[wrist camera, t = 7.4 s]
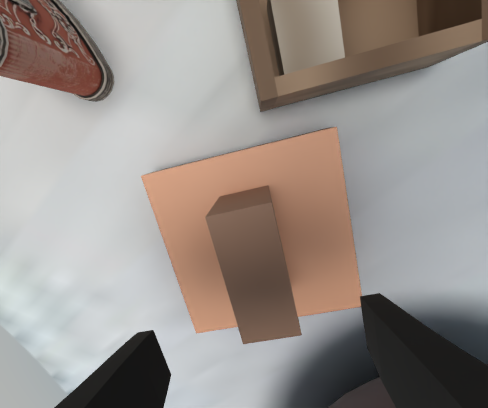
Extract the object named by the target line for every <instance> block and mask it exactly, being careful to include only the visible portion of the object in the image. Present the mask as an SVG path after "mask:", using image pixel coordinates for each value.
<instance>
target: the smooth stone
mask: <svg viewBox="0 0 488 408" xmlns="http://www.w3.org/2000/svg"><path fill="white" fill-rule="evenodd" d="M486 365H488V364H486ZM328 408H396V407H395V405H394V403H393V401H392V399H391V398H390V396H389V394H388V392H387V390H386V388H385V387H384V385H383V383H382V380H381V378H380V377H379V378H376V379H373V380H371V381H369V382H367V383H365V384H363V385H361V386H359V387H357V388H355V389H353V390H352V391H350V392H348V393H346V394H345V395H343V396H342V397H341V398H339V399H338V400H337V401H335V402H334V403H333V404H332V405H330V406H329V407H328Z"/></svg>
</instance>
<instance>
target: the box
mask: <svg viewBox="0 0 488 408" xmlns="http://www.w3.org/2000/svg"><path fill="white" fill-rule="evenodd" d="M236 1H237V6H238V11H239V15H240V20H241V24H242V29H243V34H244V38H245V43H246V47H247V52H248V57H249V61H250V66H251V71H252V75H253V80H254V84H255V89H256V94H257V98H258V103H259V108H260V112H262V111H265V110H269V109H273V108H276V107H280V106H284V105H288V104H291V103H295V102H299V101H303V100H306V99H310V98H314V97H318V96H321V95H325V94H329V93H333V92H336V91H340V90H344V89H347V88H351V87H355V86H359V85H362V84H366V83H370V82H374V81H377V80H381V79H385V78H389V77H392V76H396V75H400V74H404V73H407V72H411V71H415V70H418V69H422V68H426V67H429V66H432V65H434V64H436V63H439V62H441V61H443V60H446V59H448V58H451V57H453V56H455V55H458V54H460V53H462V52H465V51H467V50H469V49H472V48H474V47H476V46H479V45H481V44H483V43H486V42H488V0H236Z"/></svg>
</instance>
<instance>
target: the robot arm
mask: <svg viewBox="0 0 488 408" xmlns="http://www.w3.org/2000/svg"><path fill="white" fill-rule="evenodd" d="M360 301H361V308H362V315H363V322H364V328H365V335H366V342H367V348H368V350H369V353H370V355H371V357H372V360H373V362H374V365H375V367H376V369H377V371H378V374H379V376H380V378H381V380H382V383H383V385H384V387H385V388H386V390H387V392H388V394H389V396H390V398H391V399H392V401H393V403H394V405H395V407H396V408H488V365H486V364H484V363H483V362H481V361H479V360H478V359H476V358H474V357H473V356H471V355H470V354H468V353H466V352H465V351H463V350H462V349H460V348H459V347H457V346H456V345H454V344H453V343H451V342H450V341H448V340H446V339H445V338H443V337H442V336H440V335H439V334H437V333H436V332H434V331H433V330H431V329H430V328H428V327H427V326H425V325H424V324H423V323H421V322H420V321H418V320H417V319H415V318H414V317H413V316H411V315H410V314H408V313H407V312H405V311H404V310H403V309H401V308H400V307H398V306H397V305H396V304H394V303H393V302H391V301H390V300H388V299H387V298H386V297H384V296H383V295H381V294H380V293H379V294H373V295H366V296H360ZM170 377H171V373H170V370H169V368H168V365H167V363H166V360H165V358H164V356H163V353H162V351H161V348H160V346H159V343H158V341H157V338H156V336H155V333H154V331H153V330H151V331H145V332H138V333H137V334H136V335H134V336H133V337H132V338H131V339H129V340H128V341H127V342H126V343H125V344H124V345H123V346H122V347H120V348H119V349H118V350H117V351H116V352H115V353H114V354H113V355H112V356H111V357H110V358H108V359H107V360H106V361H105V362H104V363H103V364H102V365H101V366H100V367H99V368H98V369H97V370H96V371H94V372H93V373H92V374H91V375H90V376H89V377H88V378H87V379H86V380H85V381H84V382H83V383H81V384H80V385H79V386H78V387H77V388H76V389H75V390H74V391H73V392H72V393H70V394H69V395H68V396H67V397H66V398H65V399H64V400H63V401H61V402H60V403H59V404H58V405H57V406H56V407H55V408H163V407H164V403H165V399H166V395H167V391H168V386H169V382H170Z"/></svg>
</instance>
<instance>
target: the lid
mask: <svg viewBox="0 0 488 408" xmlns="http://www.w3.org/2000/svg"><path fill="white" fill-rule="evenodd" d="M141 178H142V180H143V183H144V186H145V189H146V192H147V195H148V197H149V200H150V203H151V206H152V209H153V212H154V214H155V217H156V220H157V223H158V226H159V229H160V232H161V234H162V237H163V240H164V243H165V246H166V249H167V251H168V254H169V257H170V260H171V263H172V266H173V268H174V271H175V274H176V277H177V280H178V283H179V285H180V288H181V291H182V294H183V297H184V300H185V303H186V305H187V308H188V311H189V314H190V317H191V320H192V322H193V325H194V328H195V331H196V333H202V332H208V331H214V330H220V329H227V328H233V327H238V328H239V332H240V335H241V338H242V342H243V344H247V343H254V342H260V341H267V340H273V339H280V338H286V337H293V336H300V335H302V334H301V330H300V325H299V320H298V317H301V316H307V315H313V314H319V313H325V312H332V311H338V310H344V309H350V308H356V307H361V301H360V296H362V294H361V287H360V280H359V273H358V267H357V260H356V253H355V246H354V240H353V233H352V226H351V219H350V213H349V206H348V199H347V192H346V186H345V179H344V172H343V165H342V159H341V152H340V145H339V138H338V132H337V127H332V128H326V129H322V130H318V131H314V132H310V133H306V134H302V135H298V136H294V137H290V138H287V139H283V140H279V141H275V142H271V143H267V144H263V145H259V146H255V147H251V148H247V149H243V150H239V151H235V152H231V153H227V154H223V155H219V156H215V157H211V158H207V159H203V160H199V161H195V162H191V163H187V164H184V165H180V166H176V167H172V168H168V169H164V170H160V171H156V172H152V173H149V174H146V175H143V176H141Z"/></svg>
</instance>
